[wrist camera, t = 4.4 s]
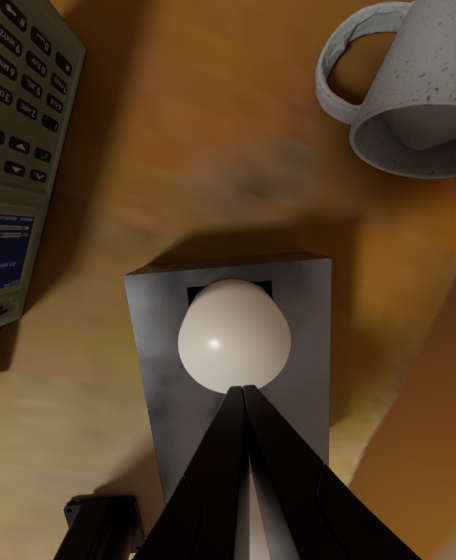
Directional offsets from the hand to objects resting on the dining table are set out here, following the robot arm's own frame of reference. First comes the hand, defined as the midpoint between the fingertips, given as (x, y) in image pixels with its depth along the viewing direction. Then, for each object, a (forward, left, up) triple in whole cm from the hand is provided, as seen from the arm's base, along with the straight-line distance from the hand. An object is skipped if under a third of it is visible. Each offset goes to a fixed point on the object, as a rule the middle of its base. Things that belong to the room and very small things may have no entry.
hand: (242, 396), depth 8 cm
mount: (-5, 0, -11) cm, 12 cm away
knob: (0, 0, -10) cm, 10 cm away
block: (+12, -11, -11) cm, 20 cm away
